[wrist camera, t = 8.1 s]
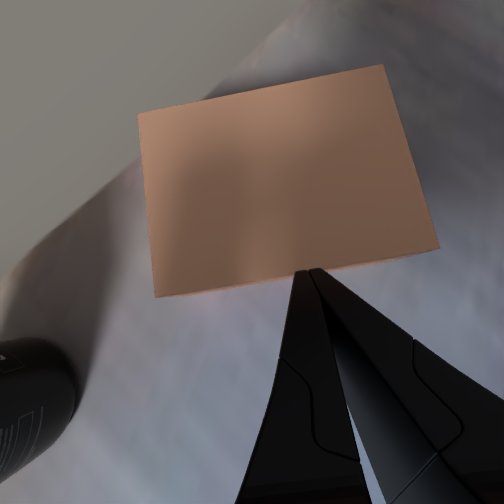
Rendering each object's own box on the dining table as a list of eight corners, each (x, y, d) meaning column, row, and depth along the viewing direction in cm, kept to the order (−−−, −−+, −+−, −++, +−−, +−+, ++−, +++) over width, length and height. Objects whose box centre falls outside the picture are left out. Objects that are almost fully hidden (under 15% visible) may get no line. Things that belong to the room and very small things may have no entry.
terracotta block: (440, 248, 10) (382, 63, 11) (154, 297, 10) (137, 113, 12) (382, 262, 15) (348, 132, 16) (192, 295, 15) (176, 166, 17)
